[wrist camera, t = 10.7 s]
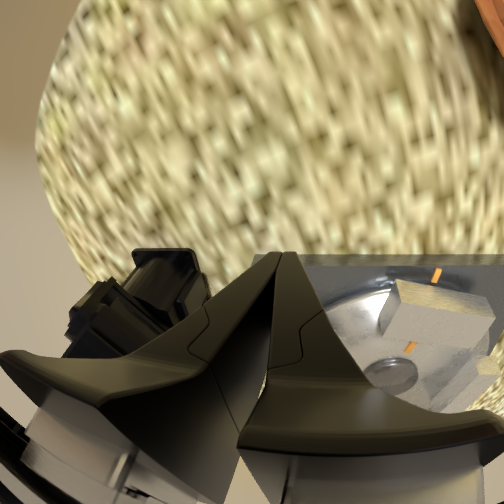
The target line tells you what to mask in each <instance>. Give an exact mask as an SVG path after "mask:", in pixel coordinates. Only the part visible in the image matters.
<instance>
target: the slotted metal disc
mask: <svg viewBox="0 0 504 504" xmlns="http://www.w3.org/2000/svg"><path fill="white" fill-rule="evenodd" d="M324 310H325V312H326V314H327V316H328V318H329V320H330V322H331V324H332V326H333V328H334V330H335V332H336V333H337V335H338V336H339V338H340V339H341V341H342V342H343V344H344V345H345V347H346V348H347V350H348V351H349V353H350V354H351V355H352V357H353V358H354V360H355V361H356V363H357V364H358V366H359V367H360V368H361V370H362V371H363V373H364V374H365V376H366V377H367V378H368V379H369V381H370V382H371V383H372V384H373V385H374V386H376V387H377V388H378V389H380V390H382V391H384V392H387V393H389V394H391V395H393V396H395V397H398V398H400V399H402V400H404V401H407V402H409V403H411V404H414V405H416V406H418V407H421V408H423V409H426V410H427V409H429V408H431V410H432V412H438V413H460V412H463V411H464V410H465V409H466V408H468V407H469V406H470V405H471V404H472V403H473V402H474V401H475V400H476V399H477V398H478V397H480V396H481V395H482V394H483V393H484V392H485V391H486V390H487V389H488V388H489V387H490V386H491V385H492V384H493V383H494V382H495V381H496V380H497V379H498V378H499V377H500V375H501V373H500V370H499V367H498V364H497V361H496V358H495V356H486V355H487V351H488V348H489V341H490V340H489V330H488V329H489V327H490V326H491V325H492V323H493V322H494V320H495V319H496V317H495V315H494V313H493V311H492V309H491V307H490V305H489V303H488V301H487V299H486V297H483V296H478V295H473V294H468V293H463V292H458V291H455V290H453V289H449V288H446V287H442V286H438V285H431V284H419V283H414V282H409V281H404V280H399V279H395V281H394V283H393V285H388V286H383V287H378V288H372V289H369V290H366V291H362V292H359V293H355V294H353V295H350V296H348V297H345V298H342V299H340V300H338V301H336V302H334V303H332V304H330V305H328V306H326V307H324Z"/></svg>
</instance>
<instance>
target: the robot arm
mask: <svg viewBox="0 0 504 504" xmlns="http://www.w3.org/2000/svg"><path fill="white" fill-rule="evenodd" d="M187 253H188V254H189V255H190V256H189V255H187ZM131 254H132V257H133V260H134V263H135V265H136V268H135V269H134V270H133V271H132V272H131V274H130V275H129V276H128V277H127V278H126V280H125V281H124V282H123V283H122V285H121V286H120V285H119V284H118V283H117V282H116V281H117V280H116V279H114V278H113V277H111V278H110V279H109V280H108V281H107V282H106V281H104V282H100V281H97V282H96V283H95V284H94V286H93V287H92V288H91V289H90V290H89V291H88V292H87V293H86V295H84V296H83V297H82V298H81V299H80V300H79V301H78V302H77V303H76V304H75V305H74V306H73V307H72V308H71V309H70V311H69V317H70V322H69V324H68V327H69V329H68V330H67V331H66V333H65V335H64V336H66V337H67V338H68V339H69V340H70V341H71V342H72V343H71V345H70V346H69V347H68V349H67V350H66V352H65V353H64V354H63V356H62V357H61V358H53V357H44V356H38V355H34V354H32V353H29V352H27V351H25V350H8V351H4V352H2V353H0V366H1V367H2V369H3V370H4V371H5V372H6V374H7V375H8V376H9V377H10V378H11V379H12V380H13V382H14V383H15V384H16V385H17V386H18V387H19V388H20V389H21V390H22V391H23V392H24V393H25V394H26V395H27V396H28V397H29V398H30V399H31V400H32V401H33V402H34V403H35V404H36V405H37V406H38V407H39V408H38V409H37V411H36V413H35V414H34V416H33V418H32V419H31V421H30V423H29V424H28V426H27V428H26V429H25V428H24V427H23V426H22V425H20V424H19V423H18V422H17V421H16V420H14V419H13V418H12V417H11V416H10V415H9V414H8V413H7V412H5V411H4V410H3V409H2V408H1V407H0V504H196V503H197V501H199V502H203V503H207V504H223V503H224V501H225V498H226V495H227V492H228V490H229V486H230V484H231V481H232V478H233V475H234V472H235V469H236V466H237V463H238V460H239V457H240V456H241V457H242V459H243V461H244V462H245V464H246V466H247V467H248V469H249V471H250V472H251V473H252V476H253V477H254V479H255V480H256V482H257V484H258V485H259V487H260V488H261V490H262V492H263V493H264V495H265V496H266V497H267V499H268V501H269V502H270V504H485V496H484V476H483V467H484V466H485V465H487V464H488V463H490V462H491V461H492V460H494V459H495V458H496V457H498V456H499V455H500V454H502V453H503V452H504V419H503V418H502V417H500V416H499V415H496V414H495V413H493V412H491V411H489V410H483V409H479V410H471V411H466V412H460V413H438V412H432V411H429V410H426V409H423V408H421V407H418V406H416V405H414V404H411V403H409V402H407V401H404V400H402V399H400V398H398V397H395V396H393V395H391V394H389V393H387V392H384V391H382V390H380V389H378V388H377V387H376V386H374V385H373V384H372V383H371V382H370V381H369V379H368V378H367V377H366V376H365V374H364V373H363V371H362V370H361V368H360V367H359V366H358V364H357V363H356V361H355V360H354V358H353V357H352V355H351V354H350V353H349V351H348V350H347V348H346V347H345V345H344V344H343V342H342V341H341V339H340V338H339V336H338V335H337V333H336V332H335V330H334V328H333V326H332V324H331V322H330V320H329V318H328V316H327V314H326V312H325V310H324V308H323V306H322V304H321V302H320V300H319V297H318V295H317V293H316V291H315V289H314V287H313V285H312V283H311V281H310V279H309V277H308V275H307V273H306V271H305V269H304V267H303V265H302V263H301V261H300V259H299V257H298V255H297V253H296V252H283V253H282V252H269V253H267V254H266V255H265V256H264V257H262V258H261V259H260V260H259V261H257V262H256V263H255V264H254V265H252V266H251V267H250V268H249V269H247V270H246V271H245V272H244V273H242V274H241V275H240V276H239V277H237V278H236V279H235V280H234V281H232V282H231V283H230V284H229V285H227V286H226V287H225V288H224V289H222V290H221V291H220V292H218V293H217V294H216V295H215V296H213V297H212V298H211V299H210V300H208V299H207V296H206V295H207V291H206V288H205V285H204V281H203V278H202V274H201V272H200V271H199V268H198V265H197V261H196V257H195V254H194V251H193V250H192V249H189V248H138V249H134V250H133V251H132V253H131ZM266 370H267V376H266V383H265V387H264V389H263V391H262V393H261V395H260V397H259V393H260V390H261V387H262V383H263V380H264V377H265V373H266ZM258 397H259V399H258ZM257 400H258V401H257ZM498 504H504V501H503V502H501V503H498Z"/></svg>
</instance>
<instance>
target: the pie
mask: <svg viewBox="0 0 504 504" xmlns="http://www.w3.org/2000/svg"><path fill="white" fill-rule="evenodd" d="M474 1H475V4H476V6H477V8H478V11H479V13H480V16H481V18H482V21H483V23H484V25H485V27H486V29H487V30H488V32H489V34H490V36H491V37H492V39H493V41H494V43H495V45H496V46H497V47H498V49H499V51H500V53H501V55H502V57H503V58H504V0H474Z"/></svg>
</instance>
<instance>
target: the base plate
mask: <svg viewBox="0 0 504 504" xmlns="http://www.w3.org/2000/svg"><path fill="white" fill-rule="evenodd" d="M264 256H265V255H255V257H254V259H253V262H252V265H254V264H255V263H256V262H257V261H259V260H260V259H261V258H262V257H264ZM298 257H299V259H300V261H301V263H302V265H303V267H304V269H305V271H306V273H307V275H308V277H309V279H310V281H311V283H312V285H313V287H314V289H315V291H316V293H317V295H318V297H319V300H320V302H321V304H322V306H323V308H324V307H326V306H328V305H330V304H332V303H334V302H336V301H338V300H340V299H342V298H345V297H348V296H350V295H353V294H355V293H359V292H362V291H366V290H369V289H372V288H378V287H383V286H388V285H393V283H394V281H395V279H399V280H404V281H409V282H414V283H419V284H431V285H438V286H442V287H446V288H449V289H453V290H455V291H458V292H463V293H468V294H473V295H478V296H483V297H486V299H487V301H488V303H489V305H490V307H491V309H492V311H493V313H494V315H495V317H496V319H495V320H494V322H493V323H492V325H491V326H490V327H489V329H488V330H489V340H490V341H489V348H488V351H487V355H486V356H489V355H490V353H491V352H492V350H493V348H494V346H495V345H496V343H497V341H498V339H499V337H500V336H501V334H502V332H503V330H504V255H298ZM252 265H251V266H252ZM427 410H429V411H432V410H431V408H429V409H427Z"/></svg>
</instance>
